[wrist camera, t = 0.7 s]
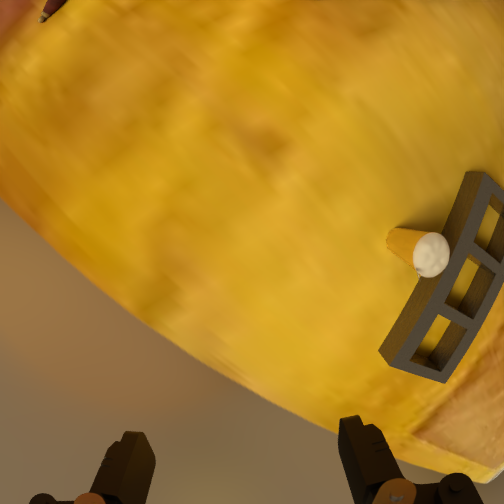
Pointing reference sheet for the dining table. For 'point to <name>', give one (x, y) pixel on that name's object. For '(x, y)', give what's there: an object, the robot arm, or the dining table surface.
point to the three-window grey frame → (438, 287)
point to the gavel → (50, 8)
